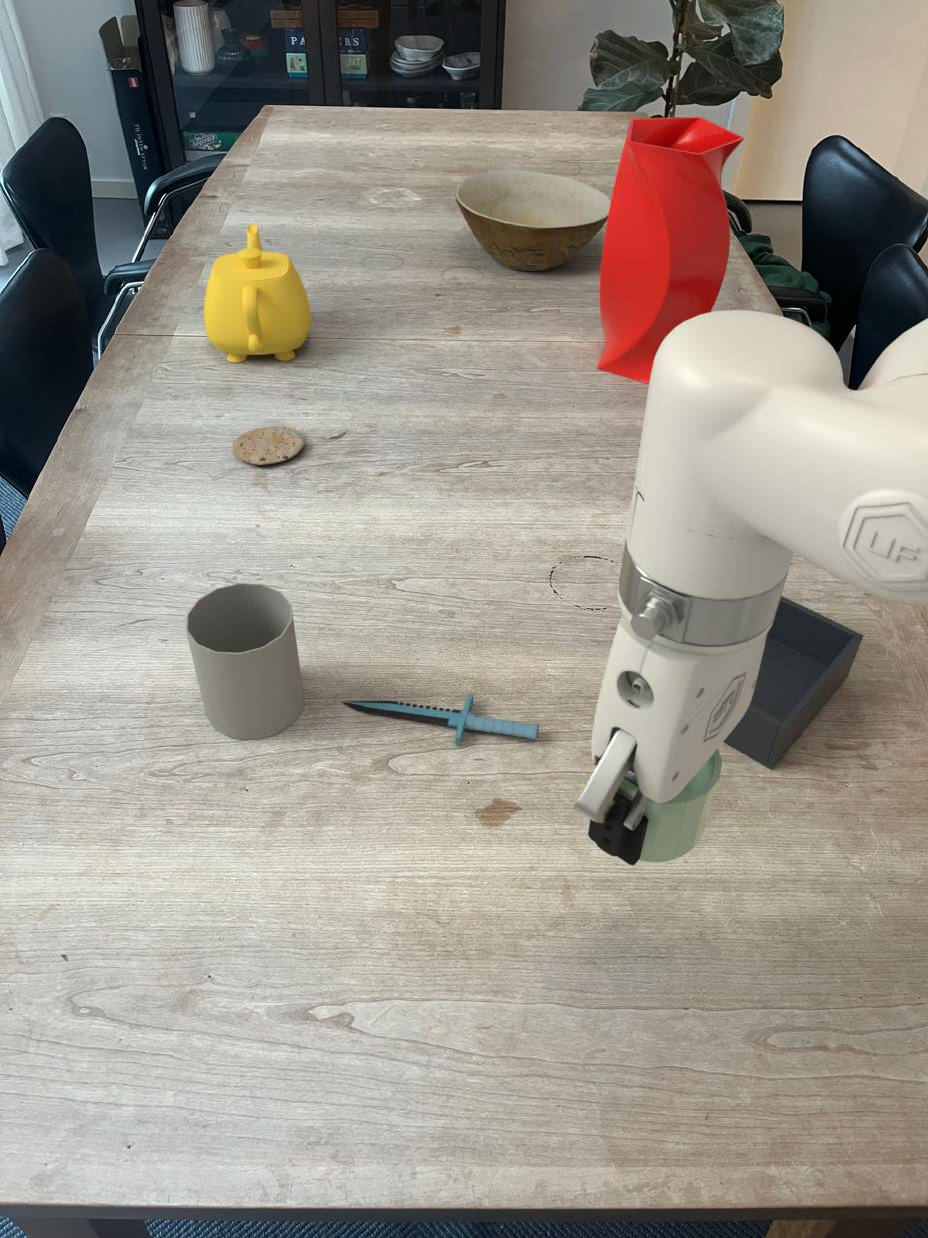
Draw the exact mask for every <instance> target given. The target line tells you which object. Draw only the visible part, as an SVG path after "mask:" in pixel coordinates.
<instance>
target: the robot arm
mask: <svg viewBox="0 0 928 1238" xmlns="http://www.w3.org/2000/svg"><path fill="white" fill-rule="evenodd" d="M629 508H630V509H629V514H628V522H627V527H626V534H625V541H624V546H623V554H622V561H621V567H620V573H619V580H618V583H617V584H618V585H617V595H616V596H617V603H618V605H619V608H620V611H621V613H622V615H621V617H620V619H619V622H618V625H617V627H616V631H615V635H614V637H613V641H612V645H611V648H610V651H609V655H608V658H607V662H606V665H605V669H604V672H603V676H602V681H601V685H600V689H599V694H598V699H597V703H596V707H595V714H594V718H593V719H594V720H593V725H592V732H591V742H590V753H591V759H592V762H593V765H594V770H593V772H592V773H591V775H590V777H589V779H588V781H587V782H586V784H585V786H584V787H583V789H582V791H581V793H580V794H579V797H578V798H577V799H576V802H575V804H574V810H575V811H577V812H579V813H580V814H582V815H583V816H585V817H586V818H588V819H589V823H588V831H587V835H588V837H589V839H590V840H591V841H592V842H594V843H595V845H596V846H597V847H598V848H599V849H600V850H601V851H603V852H605V854H607V855H609V856H610V857H611V856H612V857H617V858H619V859H620V860H622V861H623V862H625V863H626V864H628V865H630V866H635V865H636V864H637V863H638V862H639V861H640V860H639V859H640V856H641V852H642V847H643V843H644V839H645V834H646V830H647V826H648V821H649V819H647V817H646V816H645V815H644V812H645V810H646V808H647V805H648V803H649V801H650V800H652V801H654V802H656V803H658V804H659V803H664V802H667V801H670V800H671V799H673V798H675V797H676V796H677V795H678V794H679V793H680V792H681V791H682V790H683V789H684V788H685V786H686V785H687V784H688V783H689V782H690V781H691V780H692V778H693V777H694V776H695V775H696V774H697V772H698V771H699V770H700V769H701V768H702V767H703V765H704V764H705V763H706V762H707V761H708V759H709V758H710V757H711V756H712V755H713V753H714V752H715V751H716V750H717V749H718V750H719V747H721V745H722V744H723V743H724V742H723V741H724V740H725V739H726V738H727V736H728V735H729V734H730V733H731V732H732V730H733V729H734V728H735V727H736V725H737V724H738V723H739V721H740V720H741V719H742V717H743V716H744V714H745V713H746V711H747V709H748V707H749V705H750V703H751V700H752V696H753V693H754V689H755V685H756V681H757V677H758V673H759V668H760V664H761V660H762V656H763V651H764V647H765V642H766V638H767V633H768V632H769V630H770V628H771V627H772V624H773V621H774V618H775V614H776V611H777V608H778V605H779V601H780V598H781V596H783V592H784V591H783V590H784V588H785V585H786V581H787V577H788V575H789V571H790V567H791V564H792V561H793V558H794V554H796V555H798V556H799V557H800V558H803V559H804V560H806V561H808V562H809V563H811V564H812V565H814V566H816V567H818V568H819V569H821V570H823V571H825V572H826V573H828V574H830V575H831V576H833V577H835V578H837V579H838V580H841V581H843V582H844V583H846V584H848V585H850V586H852V587H854V588H855V589H857V590H860V591H862V592H864V593H866V594H869V595H872V596H874V597H877V598H879V599H881V600H882V599H883V600H886V601H890V602H893V603H894V602H895V603H898V604H902V605H907V606H908V605H909V606H918V607H928V318H925V319H924V320H922V321H921V322H919V323H918V324H916V325H914V326H912V327H911V328H909V329H907V330H906V331H904V332H903V333H901V334H900V335H899V336H898V337H897V338H896V339H895V340H893V341H892V342H891V343H890V344H889V345H888V346H887V347H886V348H885V349H884V350H883V351H882V352H881V354H880V355H879V357H877V358H876V360H875V362H874V363H873V364H872V366H871V368H870V369H869V371H868V372H867V374H866V375H865V377H864V378H863V380H862V381H861V383H860V385H859V386H858V389H857V390H854V389H851V388H849V387H847V385H846V384H845V382H844V373H843V368H842V364H841V360H840V357H839V355H838V353H837V352H836V350H835V349H834V347H833V346H832V345H831V343H830V342H829V341H828V340H827V339H825V338H824V337H823V336H822V335H821V334H820V333H819V332H818V331H816V330H815V329H813V328H811V327H810V326H808V325H806V324H804V323H802V322H799V321H797V320H794V319H792V318H789V317H784V316H782V315H778V314H774V313H769V312H765V311H758V310H748V309H730V310H729V309H728V310H715V311H711V312H709V313H705V314H701V315H698V316H696V317H693V318H691V319H689V320H687V321H684V322H683V323H681V324H679V325H678V326H676V327H675V328H674V329H673V330H672V331H671V332H670V333H669V334H668V335H667V336H666V337H665V339H664V340H663V342H662V343H661V345H660V347H659V349H658V351H657V353H656V356H655V358H654V363H653V367H652V372H651V377H650V383H649V384H648V390H647V396H646V404H645V410H644V415H643V424H642V429H641V435H640V442H639V447H638V456H637V462H636V468H635V475H634V483H633V489H632V495H631V503H630V507H629ZM595 766H596V768H595ZM624 778H625V779H626V780H628V781H629V782H631V783H633V784H634V785H636V786H638V789H637V792H636V794H635V796H634V798H633V801H632V802H631V801H630V800H628V799H626V798H625V797H623V796H621V795H620V794H618V793H617V790H618V788H619V786H620V785H621V783H622V781H623V779H624Z"/></svg>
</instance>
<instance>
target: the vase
mask: <svg viewBox="0 0 928 1238" xmlns="http://www.w3.org/2000/svg"><path fill="white" fill-rule="evenodd" d="M744 140H745V137H744V136H743V135H739V134H738V133H735V132H733V131H732V130H729V129H727V128H725V127H723V126H721V125H719V124H717V123H715V122H713V121H711V120H708V119H707V118H705V117H702V116H688V117H687V116H684V117H683V116H682V117H644V118H642V117H641V118H638V117H637V118H631V119H630V122H629V125H628V128H627V133H626V137H625V140H624V143H623V148H622V151H621V155H620V160H619V163H618V168H617V172H616V176H615V180H614V185H613V190H612V193H611V199H610V201H611V203H610V209H609V214H608V219H607V222H606V224H605V225H606V226H605V231H604V238H603V245H602V251H601V252H602V253H601V260H600V261H601V262H600V272H599V273H600V274H599V313H600V314H599V315H600V316H599V317H600V321H601V328H602V333H603V335H604V336H603V337H604V343H603V348H602V351H601V355H600V358H599V361H598V364H597V366H596V368H597V369H598V370H601V371H605V372H608V373H611V374H615V375H618V376H621V377H624V378H628V379H631V380H634V381H638V382H641V383H643V384H647V385H649V383H650V377H651V372H652V367H653V363H654V358H655V356H656V353H657V351H658V349H659V347H660V345H661V343H662V342H663V340H664V339H665V337H666V336H667V335H668V334H669V333H670V332H671V331H672V330H673V329H674V328H675V327H676V326H678V325H679V324H681V323H683V322H684V321H687V320H689V319H691V318H693V317H696V316H698V315H701V314H705V313H709V312H712V310H713V308H714V305H715V303H716V301H717V299H718V296H719V294H720V291H721V289H722V285H723V282H724V279H725V276H726V271H727V266H728V263H729V256H730V248H731V247H730V246H731V225H730V217H729V211H728V205H727V201H726V198H725V193H724V190H723V185H722V177H723V171H724V167H725V164H726V163H727V161H728V160H729V158H730V157H731V156H732V154H733V153H734V151H735V150H736V149H737V148H738V146H740V144H741V143H742V142H743V141H744Z"/></svg>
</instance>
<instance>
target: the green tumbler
mask: <svg viewBox="0 0 928 1238" xmlns="http://www.w3.org/2000/svg"><path fill="white" fill-rule="evenodd" d="M722 766H723V758H722V756H721V753H720V750H719V748H718V749H717V750H716V751H715V752H714V753H713V755H712V756H711V757H710V758H709V759H708V761H707V762H706V763H705V764H704V765H703V767H702V768H701V769H700V770H699V771H698V772H697V774H696V775H695V776H694V777H693V778H692V780H691V781H690V782H689V783H688V784H687V785H686V786H685V788H684V789H683V790H682V791H681V792H680V793H679V794H678V795H677V796H676V797H675V798H673V799H671V800H670V801H667V802H664V803H659V804H658V803H656V802H654V801H652V800H650V801H649V803H648V805H647V808H646V810H645V812H644V815H645V816H646V817H647V819H649V821H648V826H647V830H646V834H645V839H644V843H643V847H642V852H641V856H640V859H639V860H638V861H641V862H647V863H662V862H670V861H673V860H676V859H678V858H681V857H683V856H685V855H686V854H688V853H690V852H691V851H692V850H693V849H694V848H695V847H696V846H697V845H698V844H699V842H700V841H701V838H702V836H703V834H704V832H705V830H706V828H707V827H706V826H707V823H708V819H709V816H710V814H711V810H712V806H713V803H714V799H715V796H716V793H717V789H718V785H719V782H720V779H721V773H722ZM595 768H596V766H595V765H594V769H595ZM637 789H638V786H636V785H634V784H633V783H631V782H629V781H628V780H626V779H625V778H624V779H623V781H622V783H621V785H620V786H619V788H618V790H617V793H618V794H620V795H621V796H623V797H625V798H626V799H628V800H630V801H631V802H632V801H633V798H634V796H635V794H636V792H637Z"/></svg>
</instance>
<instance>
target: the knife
mask: <svg viewBox="0 0 928 1238" xmlns="http://www.w3.org/2000/svg"><path fill="white" fill-rule="evenodd" d="M341 703H343V704H345V705H346V706H348V707H349V708H351V709H353V710H356V711H359V712H362V713H365V714H371V715H378V716H385V717H392V718H397V719H405V720H412V721H419V722H427V723H433V724H440V725H441V724H442V725H447V726H448V727H454V728H456V733H455V737H454V739H455V741H454V742H455V745H457V746H461V745H462V741H463V740H464V736H465V733H466V730H471V731H473V730H474V731H477V732H485V733H492V734H498V735H499V734H500V735H502V734H503V735H507V736H514V737H520V738H527V739H528V740H533V741H536V740H537V738H538V734H539V727H540V726H539V723H535V722H534V723H528V722H521V721H515V720H508V719H507V720H505V719H500V718H497V719H496V718H493V717H486V716H479V715H478V716H477V715H475V714H474V713H472V710H473V709H472V708H473V705H474V694H470V693H469V694H467V697H466V700H465V703H464V706H463V708H461V709H452V710H451V708H446V709H444V707H439V709H438V707H437V706H433V707H432V708H431V705H426V706H425V707H424V704H419V706H418V704H417V703H413V704H412V705H411V702H410V703H409V702H406V703H405V702H403V701H401V702H399V701H397V700H396V701H395V700H347V701H344V700H343V701H342V700H341Z"/></svg>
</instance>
